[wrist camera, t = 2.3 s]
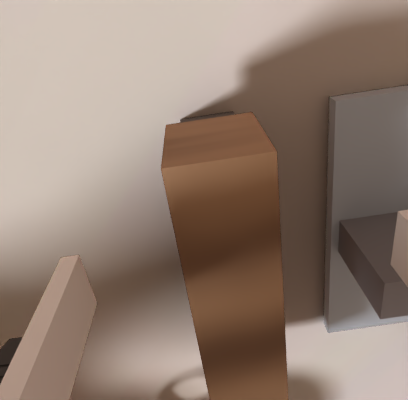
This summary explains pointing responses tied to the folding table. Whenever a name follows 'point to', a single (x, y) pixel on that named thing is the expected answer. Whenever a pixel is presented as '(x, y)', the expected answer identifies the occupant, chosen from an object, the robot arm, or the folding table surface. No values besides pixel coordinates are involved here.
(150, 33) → the folding table surface
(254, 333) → the walnut bar
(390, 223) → the grey ridged block
